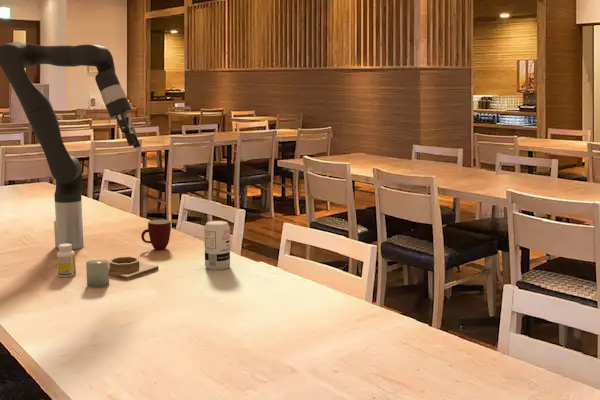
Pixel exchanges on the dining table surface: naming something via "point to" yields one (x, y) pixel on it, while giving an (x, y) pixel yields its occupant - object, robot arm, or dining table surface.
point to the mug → (158, 233)
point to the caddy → (129, 268)
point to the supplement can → (217, 245)
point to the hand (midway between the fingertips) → (135, 146)
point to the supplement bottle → (66, 261)
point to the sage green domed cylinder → (97, 273)
